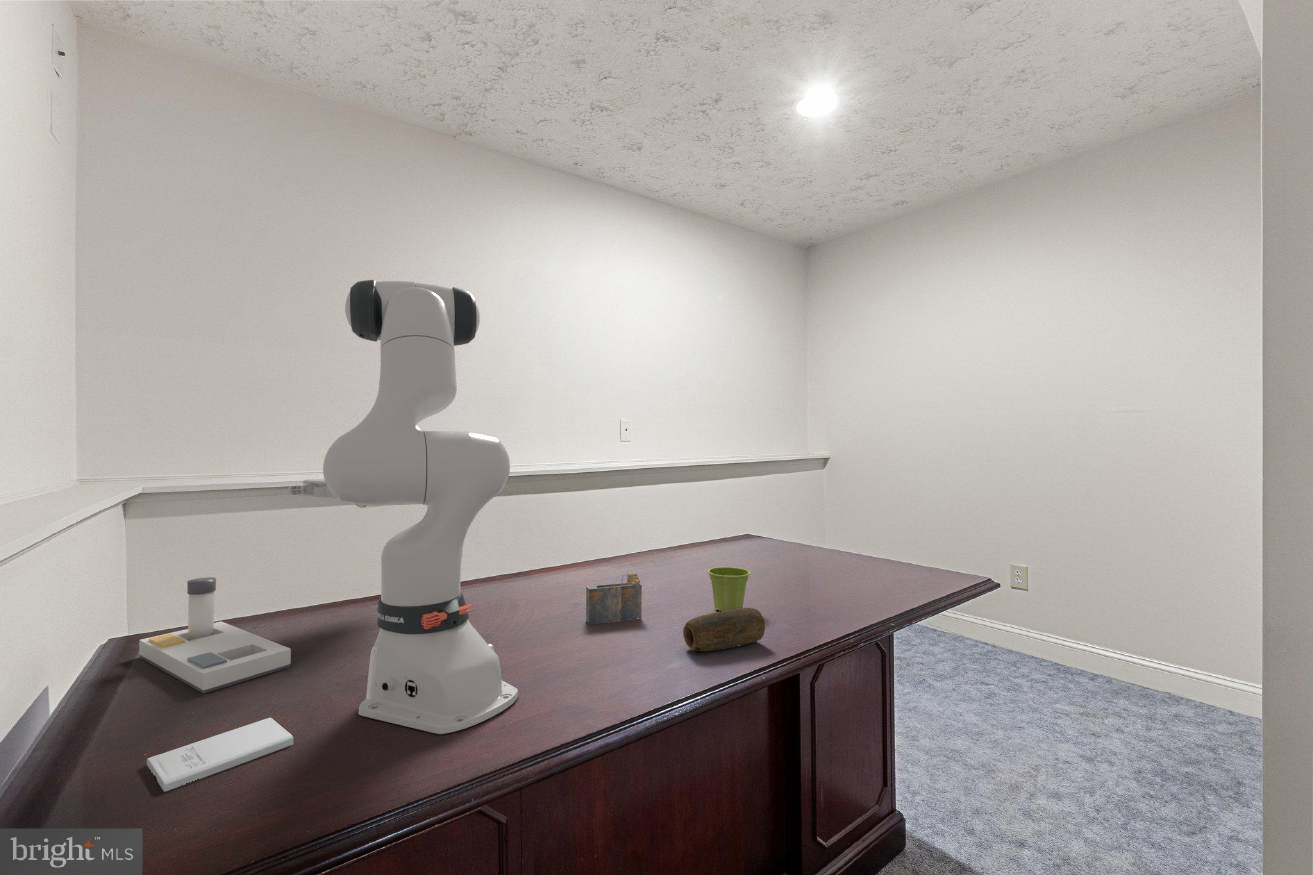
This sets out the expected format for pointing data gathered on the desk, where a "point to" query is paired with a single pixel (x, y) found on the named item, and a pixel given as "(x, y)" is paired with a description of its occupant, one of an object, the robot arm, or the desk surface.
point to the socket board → (215, 657)
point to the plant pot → (728, 587)
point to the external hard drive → (218, 753)
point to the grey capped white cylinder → (201, 607)
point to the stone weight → (724, 629)
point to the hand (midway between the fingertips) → (301, 491)
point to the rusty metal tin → (614, 601)
